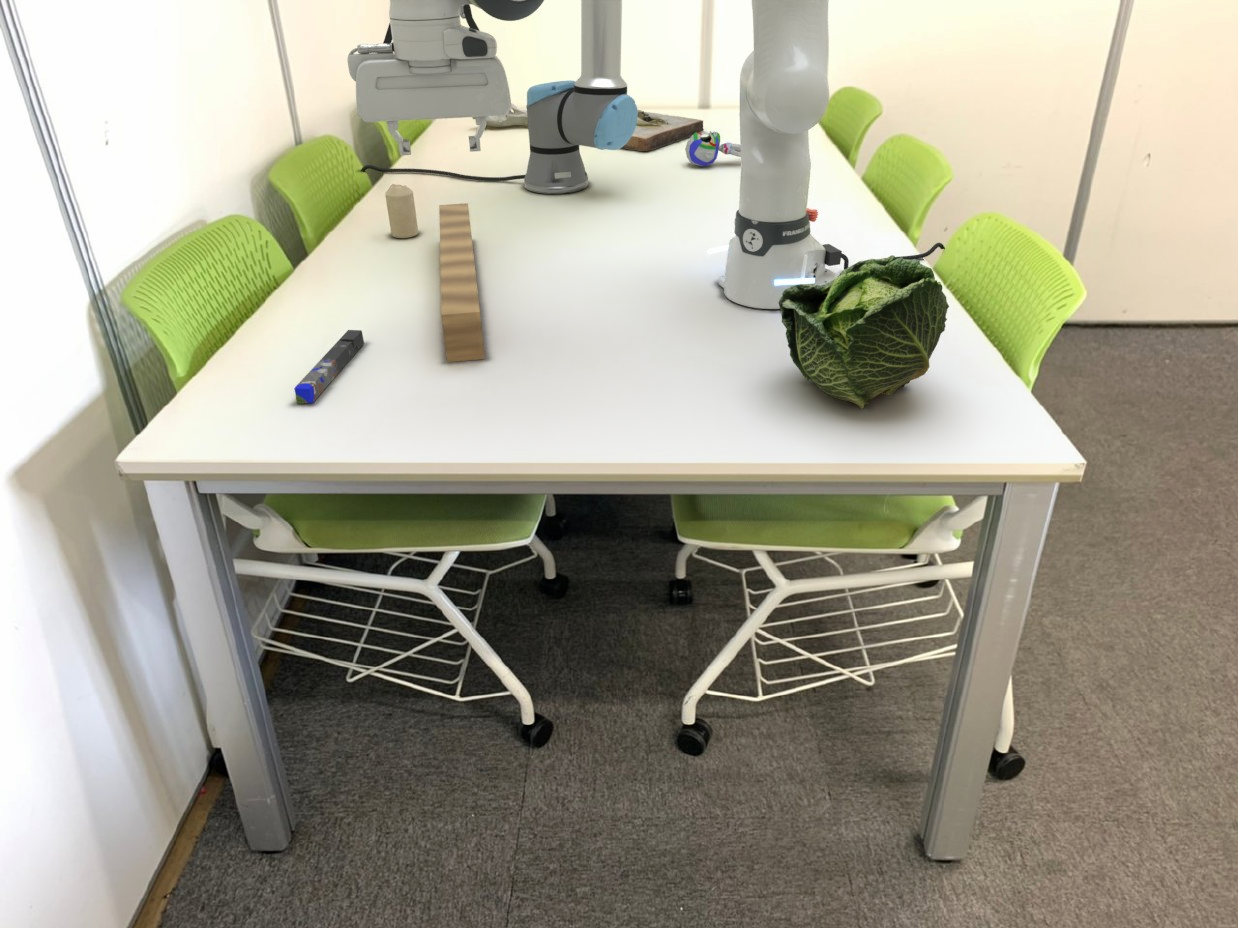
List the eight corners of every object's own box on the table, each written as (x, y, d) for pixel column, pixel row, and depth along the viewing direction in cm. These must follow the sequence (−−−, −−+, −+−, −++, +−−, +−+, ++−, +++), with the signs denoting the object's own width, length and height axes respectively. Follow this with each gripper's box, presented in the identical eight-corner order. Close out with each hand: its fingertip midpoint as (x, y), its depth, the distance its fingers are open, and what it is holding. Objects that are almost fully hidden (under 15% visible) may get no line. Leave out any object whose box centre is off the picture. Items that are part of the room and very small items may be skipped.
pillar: (361, 330, 139) (308, 390, 122) (364, 343, 140) (311, 404, 123) (348, 329, 139) (293, 389, 122) (350, 342, 140) (296, 403, 123)
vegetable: (809, 415, 132) (748, 301, 124) (914, 342, 133) (860, 224, 126) (882, 452, 114) (816, 321, 106) (1002, 367, 115) (946, 232, 107)
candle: (423, 231, 187) (416, 182, 181) (409, 239, 182) (402, 190, 177) (400, 229, 188) (393, 180, 183) (386, 237, 184) (378, 187, 178)
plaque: (647, 125, 237) (559, 112, 252) (647, 153, 241) (560, 139, 256) (706, 107, 258) (622, 97, 273) (705, 133, 262) (622, 121, 277)
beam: (443, 242, 181) (439, 205, 177) (471, 240, 181) (467, 203, 177) (447, 362, 134) (441, 315, 130) (484, 359, 135) (479, 311, 131)
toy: (809, 146, 225) (693, 132, 220) (801, 180, 229) (687, 167, 224) (798, 137, 233) (686, 124, 229) (791, 170, 238) (681, 158, 233)
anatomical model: (468, 90, 276) (547, 88, 273) (472, 121, 281) (549, 120, 278) (454, 100, 264) (536, 98, 260) (458, 132, 269) (539, 131, 265)
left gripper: (348, -24, 146) (370, 113, 158) (501, -28, 150) (511, 106, 161) (352, -27, 153) (372, 105, 164) (499, -31, 156) (509, 99, 167)
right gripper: (342, 48, 111) (361, 162, 119) (507, 42, 114) (515, 154, 121) (346, 41, 117) (364, 151, 124) (504, 36, 119) (512, 143, 127)
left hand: (441, 106), depth 163 cm, fingers open, 13 cm apart
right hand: (440, 152), depth 123 cm, fingers open, 8 cm apart
